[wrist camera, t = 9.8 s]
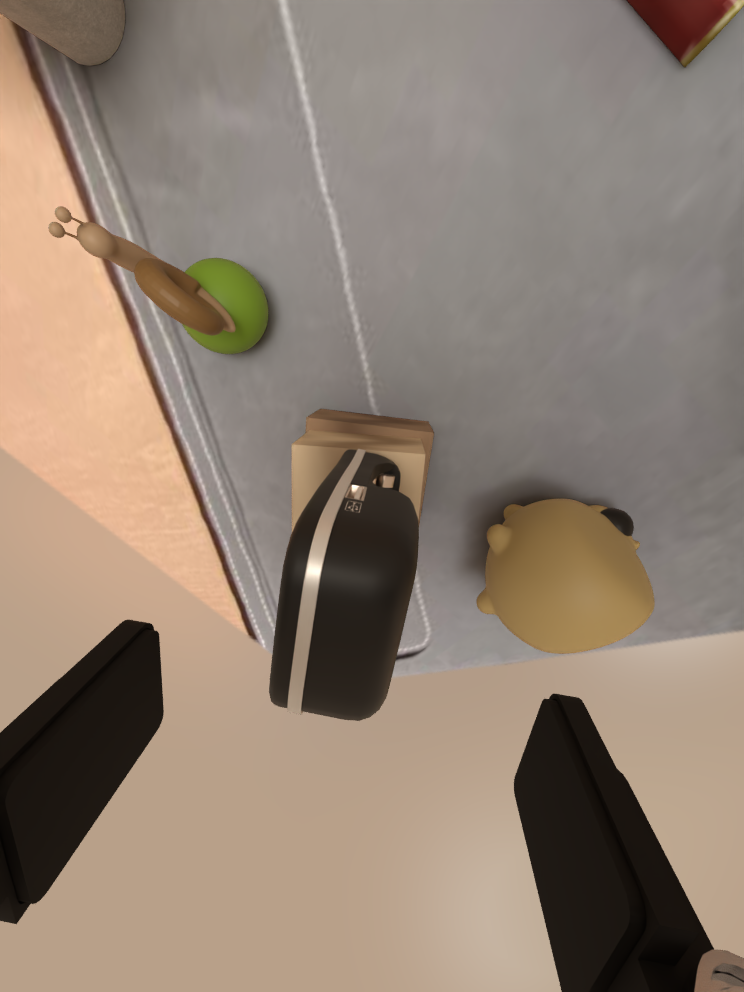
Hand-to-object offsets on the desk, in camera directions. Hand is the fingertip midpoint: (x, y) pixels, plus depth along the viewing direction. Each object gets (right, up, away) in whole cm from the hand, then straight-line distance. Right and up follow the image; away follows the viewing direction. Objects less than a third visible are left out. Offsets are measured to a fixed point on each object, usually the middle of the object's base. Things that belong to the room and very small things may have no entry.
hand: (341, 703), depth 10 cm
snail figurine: (-9, +18, +18) cm, 27 cm away
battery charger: (+1, +4, +12) cm, 13 cm away
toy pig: (+14, +2, +22) cm, 26 cm away
